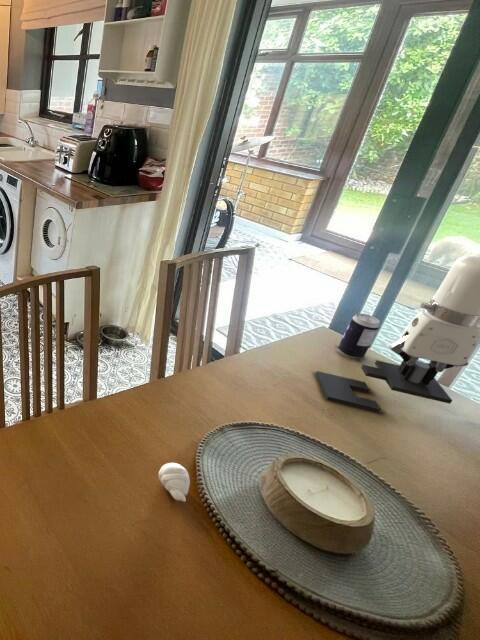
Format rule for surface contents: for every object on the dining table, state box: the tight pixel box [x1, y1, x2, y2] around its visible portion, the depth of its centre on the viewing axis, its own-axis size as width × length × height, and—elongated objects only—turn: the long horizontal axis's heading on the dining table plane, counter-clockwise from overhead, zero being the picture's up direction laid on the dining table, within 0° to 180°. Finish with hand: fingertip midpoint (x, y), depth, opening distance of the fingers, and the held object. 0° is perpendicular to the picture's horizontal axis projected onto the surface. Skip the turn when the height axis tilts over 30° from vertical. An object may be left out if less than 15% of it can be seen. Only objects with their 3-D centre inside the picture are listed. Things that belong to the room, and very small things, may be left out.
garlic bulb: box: [158, 462, 191, 503], centre depth 78 cm, size 6×6×5 cm
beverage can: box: [337, 313, 381, 359], centre depth 113 cm, size 6×6×12 cm
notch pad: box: [315, 370, 381, 413], centre depth 102 cm, size 10×10×1 cm
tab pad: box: [360, 359, 453, 405], centre depth 95 cm, size 14×10×6 cm
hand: (412, 377), depth 95 cm, fingers closed on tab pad, 2 cm apart
